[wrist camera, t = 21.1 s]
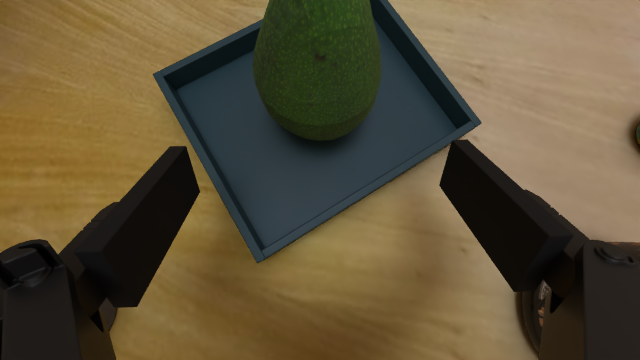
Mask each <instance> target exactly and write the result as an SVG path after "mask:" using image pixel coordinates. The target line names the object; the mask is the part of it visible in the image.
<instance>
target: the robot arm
mask: <svg viewBox="0 0 640 360" xmlns="http://www.w3.org/2000/svg"><path fill="white" fill-rule="evenodd" d="M439 186H440V187H441V189H442V190H443V191H444V193H445V194H446V196H447V197H448V199H449V200H450V201H451V203H452V204H453V206H454V207H455V209H456V210H457V211H458V213H459V214H460V216H461V217H462V219H463V220H464V221H465V223H466V224H467V226H468V227H469V229H470V230H471V231H472V233H473V234H474V236H475V237H476V238H477V240H478V241H479V243H480V244H481V246H482V247H483V248H484V250H485V251H486V253H487V254H488V256H489V257H490V258H491V260H492V261H493V263H494V264H495V266H496V267H497V268H498V270H499V271H500V273H501V274H502V276H503V277H504V278H505V280H506V281H507V283H508V284H509V286H510V287H511V288H512V290H513V291H514V292H526V291H536V289H537V288H538V286H539V285H540V283H541V282H542V281H543V280H544V281H545V283H546V284H547V285H548V286H549V287H550V290H549V291H548V292H547V294H546V295H545V296H544V298H543V299H542V300H541V302H540V303H539V304H538V306H537V308H536V309H538V310H541V308H542V307H543V306H545V308H544V317H543V326H542V335H541V343H540V352H539V360H640V261H638V260H637V259H635V258H634V257H633V256H632V255H631V254H630V253H628V252H627V251H625V250H623V249H622V248H620V247H618V246H615V245H613V244H611V243H607V242H604V241H600V240H590V239H589V238H587V237H586V236H585V235H584V234H583V233H582V232H580V231H579V230H578V229H577V228H576V227H575V226H573V225H572V224H571V223H570V222H569V221H568V220H566V219H565V218H564V217H563V216H562V215H559V213H558V212H557V211H556V210H555V209H554V208H552V207H550V205H549V204H548V203H547V202H545V201H544V200H543V199H542V198H541V197H539V196H537V195H536V194H534V193H532V192H530V191H528V190H523V189H522V188H521V187H520V186H519V185H517V184H516V183H515V182H514V181H513V180H512V179H511V178H510V177H508V176H507V175H506V174H505V173H504V172H503V171H502V170H501V169H500V168H498V167H497V166H496V165H495V164H494V163H493V162H492V161H491V160H489V159H488V158H487V157H486V156H485V155H484V154H483V153H482V152H480V151H479V150H478V149H477V148H476V147H475V146H474V145H473V144H471V143H470V142H469V141H468V140H452V142H451V146H450V149H449V153H448V156H447V160H446V163H445V167H444V170H443V174H442V177H441V181H440V185H439ZM199 193H200V190H199V187H198V184H197V180H196V177H195V174H194V171H193V167H192V164H191V161H190V158H189V154H188V151H187V148H186V146H170V147H169V148H168V149H167V150H166V151H165V153H164V154H163V155H162V156H161V157H160V158H159V159H158V160H157V161H156V162H155V163H154V164H153V166H152V167H151V168H150V169H149V170H148V171H147V172H146V173H145V174H144V175H143V176H142V178H141V179H140V180H139V181H138V182H137V183H136V184H135V185H134V186H133V187H132V188H131V190H130V191H129V192H128V193H127V194H126V195H125V196H124V197H123V198H122V199H121V200H120V202H113V203H112V204H110V205H109V206H107V207H106V208H104V209H102V210H101V211H100V212H99V213H98V214H97V215H96V216H95V217H94V218H93V219H92V220H91V222H89V223H88V224H87V225H86V226H85V227H84V228H83V229H84V230H83V231H80V232H79V233H78V235H77V236H76V237H75V238H74V239H73V240H72V241H71V242H70V243H69V244H68V245H67V246H66V247H65V248H64V249H63V250H62V251H61V252H60V253H59V254H57V253H56V252H55V250H54V249H53V248H52V246H51V245H50V244H49V243H48V241H46V240H42V239H37V240H29V241H26V242H23V243H19V244H17V245H15V246H12V247H10V248H8V249H6V250H4V251H3V252H1V253H0V360H116V357H115V353H114V349H113V346H112V342H111V338H110V335H109V331H108V327H107V324H106V320H105V316H104V313H103V312H102V311H101V309H100V306H101V305H102V303H103V302H104V300H105V299H106V297H107V299H108V300H109V301H110V303H111V304H112V306H113V307H114V308H119V307H137V306H138V304H139V302H140V300H141V299H142V297H143V295H144V293H145V291H146V289H147V288H148V286H149V284H150V282H151V280H152V279H153V277H154V275H155V273H156V271H157V269H158V268H159V266H160V264H161V262H162V260H163V259H164V257H165V255H166V253H167V251H168V249H169V248H170V246H171V244H172V242H173V240H174V239H175V237H176V235H177V233H178V231H179V229H180V228H181V226H182V224H183V222H184V220H185V218H186V217H187V215H188V213H189V211H190V209H191V208H192V206H193V204H194V202H195V200H196V198H197V197H198V195H199Z"/></svg>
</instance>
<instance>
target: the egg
mask: <svg viewBox="0 0 640 360" xmlns="http://www.w3.org/2000/svg"><path fill="white" fill-rule="evenodd" d="M636 138H637V141H638V143H639V145H640V124H639V125H638V127H637V130H636Z"/></svg>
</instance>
